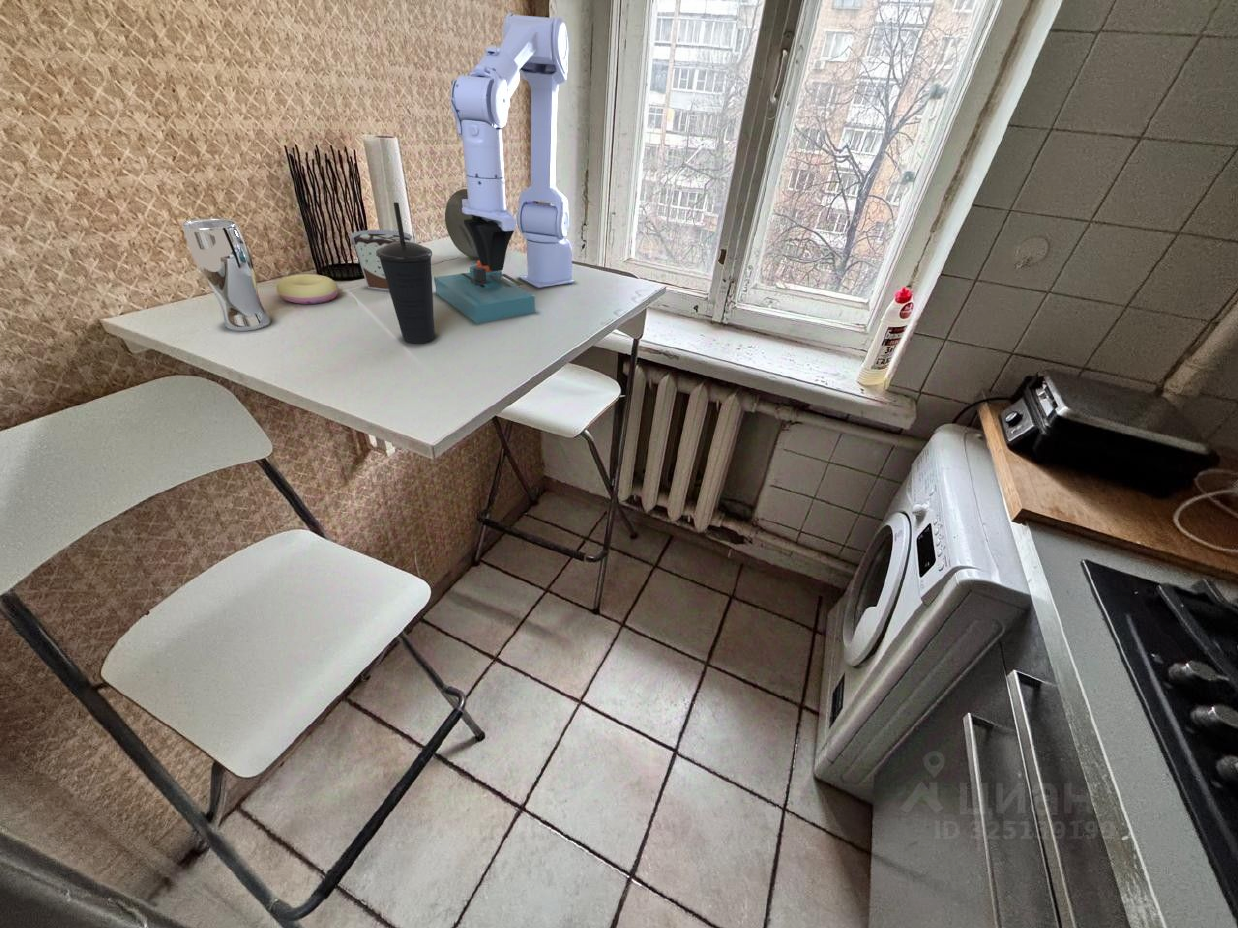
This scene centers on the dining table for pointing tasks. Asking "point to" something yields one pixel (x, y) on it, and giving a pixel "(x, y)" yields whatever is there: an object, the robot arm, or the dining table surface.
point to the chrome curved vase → (227, 271)
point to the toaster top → (497, 280)
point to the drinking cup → (410, 285)
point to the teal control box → (484, 297)
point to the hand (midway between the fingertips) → (491, 267)
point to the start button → (483, 266)
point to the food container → (374, 253)
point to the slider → (479, 276)
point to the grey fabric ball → (459, 224)
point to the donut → (307, 288)
